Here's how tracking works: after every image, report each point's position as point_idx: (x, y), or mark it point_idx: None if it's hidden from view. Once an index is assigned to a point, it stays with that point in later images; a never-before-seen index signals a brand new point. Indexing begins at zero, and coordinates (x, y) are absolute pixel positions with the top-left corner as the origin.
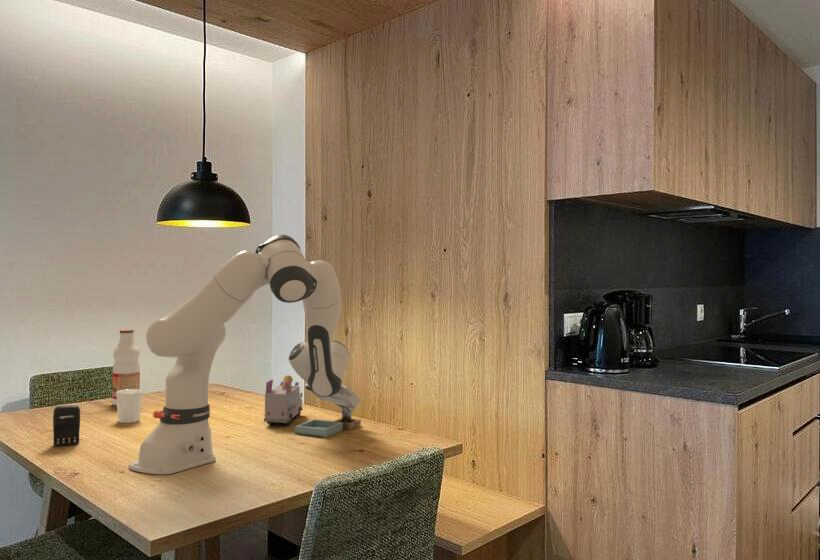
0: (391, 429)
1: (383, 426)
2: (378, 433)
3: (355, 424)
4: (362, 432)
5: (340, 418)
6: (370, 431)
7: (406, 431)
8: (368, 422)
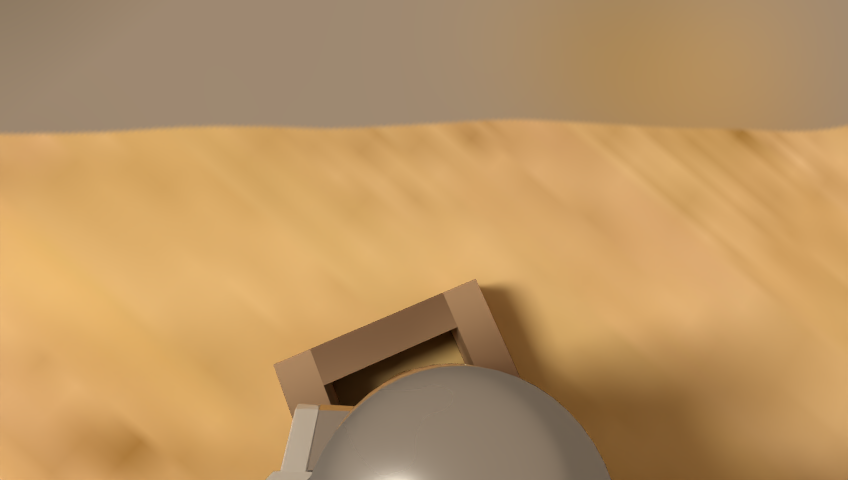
0: (716, 180)
1: (602, 160)
2: (767, 349)
3: None
4: (667, 436)
5: (293, 407)
6: (677, 356)
7: (825, 141)
8: (417, 157)
